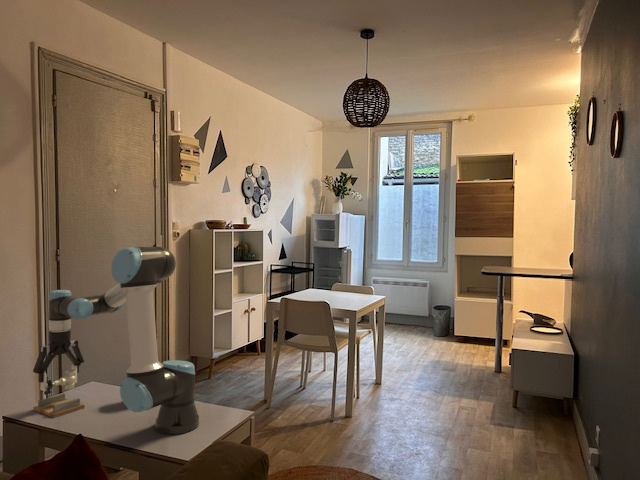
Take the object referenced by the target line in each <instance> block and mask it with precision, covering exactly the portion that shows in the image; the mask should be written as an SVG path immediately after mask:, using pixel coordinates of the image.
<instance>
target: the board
mask: <svg viewBox="0 0 640 480" xmlns="http://www.w3.org/2000/svg"><path fill="white" fill-rule="evenodd" d="M37 402H38V403H37V404H38V405H35V406H33V411H34V412H37V413H40V414H43V415H46V416H49V417H51V418H53V419H54V418H55V419H56V418H59V417H61V416H65V415H67V414H71V413H73V412H77V411H79V410H83V409H85V404H83V403H81V398H79V397H77V398H73V399H68V398H66V393H64V392H63V393H60V394H56V395H53V396H50V397H47V398H42V399H39V400H38V401H37Z"/></svg>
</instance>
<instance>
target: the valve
mask: <svg viewBox="0 0 640 480" xmlns="http://www.w3.org/2000/svg"><path fill="white" fill-rule="evenodd" d="M64 374H65V376H64V377H60V378H59V379H57V380H55V381H52V380H51V379H49V376H47V382H46V391H42V390H40V391H41V392H43V395H45V396H46V395H48V394H52V389H53V386H54V387H57V386H64V388H65V389H64V390H73V389H75V387H76V383H75V381H76V377H75V371H74V370H70V369H69V370H66V371H65V373H64ZM48 379H49V380H48Z"/></svg>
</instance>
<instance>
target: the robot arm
mask: <svg viewBox="0 0 640 480" xmlns="http://www.w3.org/2000/svg"><path fill="white" fill-rule="evenodd" d="M176 262H177V261H176V258H175V256H174V254H173V253H172V252H171V251H170V250H169V249H167V248H165V247H163V246H130V247H125V248H122V249H120V250H118V251H117V252H116V254H115V256H114V257H113V259H112V261H111V267H110V271H111V276H112V278H113V280H114V281H115V282H116V283H117V284H116V285H114V286H113V287H111V288H110V289H108V290H107V291H105V292H104V293H102V294H98V295H97V294H96V295H90V296H89V295H88V296H80V297H75V296H72V292H71V290H69V289H55V290H51V291H50V292H49V295H48V298H49V299H48V345H41V346H40V347H39V353H38V357H37V360H36V362H35V364H34V367H33V370H32V372H33V373H35V374H36V375H37V374H38V379H37V381H38V383H40V384H39V385H40V387H39V388H40V391H41V390H42V391H43V392H44V391H46V390H47V388H46V382H47V380H48V379H47V377H48V375H47V373H45V372H46V371H47V370H48V368H49V366H50V364H51V363H52V362H53V360H54V358H56V356H60V355H66V356H67V358H68V359H69V360H70V361H71V363H72V365H71V366H70V369H71V370H74V371H75V377H76V381H75V384H77V383H78V374H80V366H81V364H82V363H84V362H85V360H84V358H83V355H82V353H81V349H80V347H79V341H78V340H76V339H72V340H71V336H72V335H71V332H72V331H71V329H72V319H71V318H73V319H76V320H84V319H85V320H86V319H87V318H88V317H91V316H97V315H98V316H99V315H102V314H103V315H104V314H111V313H115V312H119V311H121V309H122V307H123V305H124V304H125V303H126V313H127V314H126V315H127V328H128V340H129V341H128V342H129V352H130V355H129V356H130V366H129V367H128V369H126V378H124V379H123V380H122V382H121V384H120V387H119V394H120V399H121V401H122V403H123V404H124V405H125V406H126V408H127V409H128V410H130V411H131V412H133V413H143V412H144V411H150V410H151V409H154V408H156V407H159V410H158V413H157V418H156V419H155V426H154V427H155V431H157V432H158V433H161V434H164V435H165V434H166V435H178V434H184V433H188V432H191V431H194V430H195V429H197V428H198V427H199V426H200V416H199V414H198V410H197V407H196V404H195V397H196V396H195V394H196V393H195V391H196V389H195V387H196V370H195V364H194V363H193V362H190V361H187V360H177V359H175V360H171V359H170V360H165V361H162V362H160V361H159V356H158V355H159V353H158V341H157V330H156V317H155V302H154V290H155V288H156V287H157V286H158V284H160V283H162V282H164V281H166V280H167V279H169V278H170V277H172V275H173V274H174V272H175V270H176V266H177V263H176ZM70 347H71V348H72V350H71V349H70ZM72 351H73V353H72ZM42 391H41V392H42Z"/></svg>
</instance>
